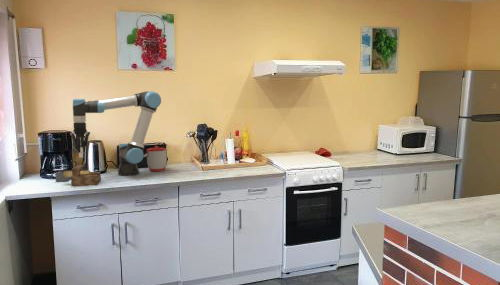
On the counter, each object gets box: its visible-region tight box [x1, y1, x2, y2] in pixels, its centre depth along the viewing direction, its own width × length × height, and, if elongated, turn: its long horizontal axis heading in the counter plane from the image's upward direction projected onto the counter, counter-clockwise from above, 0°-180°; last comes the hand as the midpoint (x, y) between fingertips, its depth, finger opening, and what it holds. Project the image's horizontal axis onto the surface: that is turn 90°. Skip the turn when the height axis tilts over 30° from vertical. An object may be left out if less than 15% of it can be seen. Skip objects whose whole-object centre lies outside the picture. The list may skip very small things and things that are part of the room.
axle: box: [63, 170, 91, 177], centre depth 250 cm, size 16×4×4 cm, turn 101°
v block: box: [54, 169, 72, 183], centre depth 260 cm, size 8×8×6 cm
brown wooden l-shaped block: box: [70, 164, 102, 187], centre depth 251 cm, size 16×12×12 cm
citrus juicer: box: [143, 145, 168, 173], centre depth 290 cm, size 16×17×20 cm
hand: (81, 157), depth 248 cm, fingers closed
